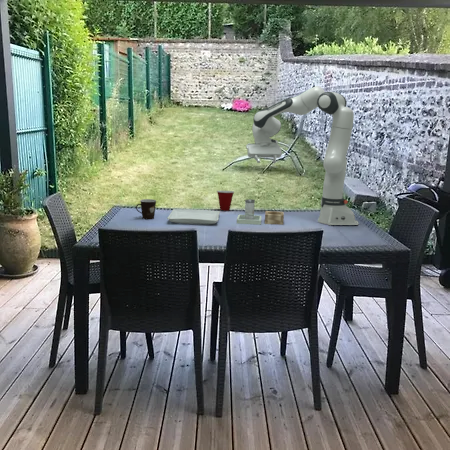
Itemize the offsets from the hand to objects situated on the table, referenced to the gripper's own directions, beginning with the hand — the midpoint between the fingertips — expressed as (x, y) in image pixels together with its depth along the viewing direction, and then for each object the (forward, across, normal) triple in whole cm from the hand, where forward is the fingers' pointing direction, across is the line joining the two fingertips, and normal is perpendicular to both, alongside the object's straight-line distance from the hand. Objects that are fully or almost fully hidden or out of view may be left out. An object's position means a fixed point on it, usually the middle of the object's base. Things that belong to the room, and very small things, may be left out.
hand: (266, 162), depth 293 cm
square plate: (+29, -43, +16) cm, 54 cm away
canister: (+35, -14, +8) cm, 39 cm away
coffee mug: (+25, -70, +20) cm, 76 cm away
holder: (+38, -1, +6) cm, 38 cm away
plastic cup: (+10, -20, +35) cm, 41 cm away
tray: (+36, -14, +8) cm, 40 cm away
